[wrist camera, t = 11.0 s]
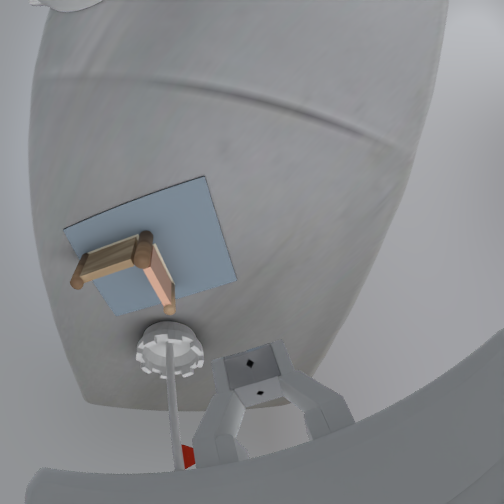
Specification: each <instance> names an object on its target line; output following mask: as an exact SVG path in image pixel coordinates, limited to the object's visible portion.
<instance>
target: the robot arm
mask: <svg viewBox="0 0 504 504" xmlns="http://www.w3.org/2000/svg"><path fill="white" fill-rule="evenodd" d="M101 1H102V0H29V3H30V4H31V5H32V6H43V5H45V6H48V7H50V8H52V9H54V10H56V11H61V12H72V11H78V10H82V9H85V8H88V7H90V6H93V5H95V4H97V3H99V2H101ZM211 365H212V371H213V376H214V382H215V388H216V393H217V394H215V395H213V397H212V399H211V401H210V403H209V405H208V407H207V410H206V412H205V414H204V416H203V418H202V420H201V422H200V425H199V427H198V429H197V431H196V433H195V435H194V437H193V439H192V442H193V450H194V457H195V463H196V469H192V470H183V471H174V472H162V473H144V474H101V473H86V472H75V471H65V470H57V469H51V468H40V469H39V470H38V471H37V472H36V474H35V475H34V477H33V478H32V479H31V481H30V483H29V484H28V486H27V489H26V494H25V504H504V328H503V329H501V330H499V331H498V332H497V333H496V334H495V335H493V336H492V337H491V338H490V339H489V340H488V341H486V342H485V343H484V344H483V345H482V346H480V347H479V348H478V349H477V350H475V351H474V352H473V353H472V354H470V355H469V356H468V357H466V358H465V359H464V360H463V361H461V362H460V363H458V364H457V365H456V366H454V367H453V368H451V369H450V370H448V371H447V372H446V373H444V374H443V375H441V376H440V377H438V378H437V379H435V380H434V381H432V382H431V383H429V384H428V385H426V386H424V387H423V388H421V389H419V390H418V391H416V392H414V393H413V394H411V395H409V396H407V397H406V398H404V399H403V400H400V401H399V402H397V403H395V404H393V405H391V406H389V407H387V408H385V409H384V410H382V411H380V412H378V413H376V414H374V415H371V416H370V417H367V418H365V419H363V420H361V421H359V422H357V423H355V421H354V419H353V416H352V415H351V412H350V410H349V408H348V406H347V404H346V402H345V400H344V398H343V396H341V395H340V394H338V393H336V392H334V391H333V390H331V389H329V388H328V387H326V386H324V385H323V384H321V383H319V382H317V381H316V380H314V379H313V378H311V377H310V376H308V375H306V374H305V373H303V372H302V371H300V370H296V371H295V369H294V367H293V364H292V362H291V359H290V357H289V354H288V352H287V349H286V347H285V345H284V342H283V340H282V339H280V340H277V341H275V342H272V343H267V344H265V345H262V346H259V347H256V348H252V349H249V350H247V351H244V352H241V353H237V354H233V355H230V356H226V357H222V358H218V359H214V360H212V363H211ZM283 396H284V397H285V398H286V399H287V400H289V401H290V402H291V403H293V404H294V405H295V406H297V407H298V408H299V409H300V410H302V411H303V412H304V413H305V414H304V418H305V425H306V430H307V434H308V437H309V440H310V441H309V442H306V443H303V444H300V445H297V446H294V447H291V448H288V449H285V450H281V451H278V452H274V453H271V454H267V455H263V456H259V457H255V458H251V459H250V458H249V454H248V451H247V449H246V448H244V446H242V445H241V444H240V443H239V442H238V441H237V440H236V436H237V433H238V430H239V427H240V424H241V421H242V418H243V415H244V412H245V408H246V407H249V406H252V405H256V404H259V403H262V402H265V401H269V400H272V399H276V398H279V397H283Z"/></svg>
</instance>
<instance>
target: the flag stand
mask: <svg viewBox="0 0 504 504" xmlns="http://www.w3.org/2000/svg"><path fill="white" fill-rule="evenodd" d="M136 360H138V361H140V363H141V369H142V370H144V371H145V372H147V373H148V374H150V373H151V372H152V371H154V372H157V373H160V378H164V379H167V392H168V407H169V420H170V430H171V441H172V450H173V459H174V467H175V471H183V470H185V469H187V468H188V467H190V466H192V465H194V464H195V457H194V450H193V448H191V447H188V446H185V445H182V444H181V436H180V428H179V419H178V408H177V397H176V385H175V374H181V373H182V376H183V377H187V376H190V375H192V374H194V368H196V367H202V365H203V363H204V356H203V348H202V345H201V343H200V342H199V340H198V339H197V338H196V336H195V333H194V332H193V331H192V330H191V329H190V328H189V327H188V326H186V325H184V324H181V323H178V322H172V321H164V322H158V323H155V324H153V325H151V326H149V327H148V328H147V329H146V330H145V332H144V333H143V337H142V338H141V339H140V340H139V342H138V344H137V351H136Z"/></svg>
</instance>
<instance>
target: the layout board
mask: <svg viewBox="0 0 504 504" xmlns="http://www.w3.org/2000/svg"><path fill="white" fill-rule="evenodd" d="M63 231H64V233H65V234H66V236H67V238H68V240H69V242H70V244H71V246H72V247H73V249H74V251H75V253H76V254H77V256H78V258H79V260H80V259H81V257H82V255H83V254H85V253H88V254H91V253H94V252H96V251H99V250H101V249H104V248H107V247H109V246H112V245H115V244H118V243H120V242H123V241H126V240H129V239H132V238H134V237H136V238H137V240H138V239H139V235H140V233H141V232H143V231H150V232H151V233H152V234H153V244H152V246H154V248H155V250H156V252H157V254H158V256H159V258H160V260H161V262H162V264H163V266H164V268H165V270H166V272H167V274H168V276H169V278H170V280H171V282H172V283H174V284H175V299H178V298H181V297H185V296H188V295H191V294H195V293H198V292H201V291H205V290H208V289H211V288H214V287H218V286H221V285H224V284H227V283H231V282H234V281H237V279H236V276H235V272H234V269H233V266H232V263H231V260H230V257H229V254H228V251H227V248H226V244H225V241H224V238H223V235H222V232H221V229H220V225H219V222H218V219H217V216H216V212H215V209H214V206H213V203H212V199H211V196H210V193H209V190H208V186H207V183H206V180H205V176H203V177H200V178H197V179H193V180H190V181H187V182H184V183H181V184H178V185H175V186H172V187H169V188H166V189H163V190H160V191H158V192H155V193H152V194H149V195H146V196H144V197H141V198H138V199H136V200H133V201H130V202H128V203H125V204H122V205H120V206H117V207H115V208H112V209H110V210H107V211H105V212H102V213H100V214H98V215H95V216H93V217H90V218H88V219H86V220H83V221H81V222H79V223H77V224H74V225H72V226H70V227H68V228H65V229H64V230H63ZM92 281H93V283H94V284H95V286H96V287H97V289H98V290H99V292H100V293H101V295H102V296H103V298H104V299H105V301H106V302H107V304H108V305H109V307H110V308H111V310H112V311H113V312H114V314H115V315H116V316H119V315H123V314H126V313H130V312H133V311H137V310H140V309H144V308H147V307H151V306H154V305H158V304H161V303H162V302H161V301H160V299H159V297H158V296H157V294H156V292H155V290H154V289H153V287H152V285H151V283H150V281H149V280H148V278H147V276H146V274H145V272H144V271H143V269H140V268H138V267H136V266H135V264H134V266H133V267H130V268H127V269H124V270H121V271H118V272H115V273H112V274H109V275H106V276H103V277H100V278H97V279H94V280H92Z"/></svg>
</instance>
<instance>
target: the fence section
mask: <svg viewBox="0 0 504 504" xmlns="http://www.w3.org/2000/svg"><path fill="white" fill-rule="evenodd" d="M143 271H144V272H145V274H146V276H147V278H148V280H149V281H150V283H151V285H152V287H153V289H154V290H155V292H156V294H157V296H158V297H159V299H160V301H161V302H162V304H163V306H164V313H165V314H167V315H173V314H174V313H175V311H176V310H175V284H174V283H172V282H171V280H170V278H169V276H168V274H167V272H166V270H165V268H164V266H163V264H162V262H161V260H160V258H159V256H158V254H157V252H156V250H155V248H154V246H152V251H151V258H150V264H149V266H148V267H147V268H144V269H143Z"/></svg>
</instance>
